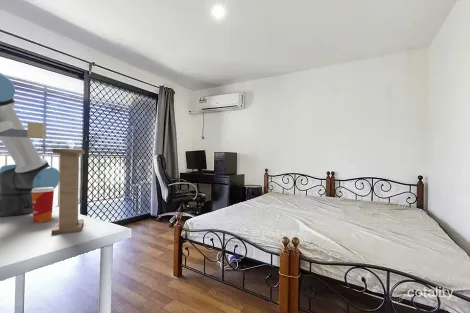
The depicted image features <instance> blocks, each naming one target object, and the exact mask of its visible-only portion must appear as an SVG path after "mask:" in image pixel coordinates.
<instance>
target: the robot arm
mask: <svg viewBox="0 0 470 313" xmlns="http://www.w3.org/2000/svg"><path fill="white" fill-rule="evenodd" d="M15 93H16V88H15V85H14V84H13V82H12V80H11V79H10V78H9V77H7V76H6V75H5V74H3V73H0V133H1V132H4V131H6V130H9V129H18V130H26V128H25V127H24V125H23V124H22V121H21V120H20V117H18V116H19V115H17V113H16V110H15V109H14V106H15V104H16V101H15V99H14V97H15ZM31 139H32V138H26V137H2V136H0V141H1V142H2V143H3V145H4V147H5V149H6V150H7V152H8V154H9V155H10V157H11V159H12V160H13V162H14V163H15V164H7V165H3V166H1V167H0V217H10V216H11V217H13V216H20V215H25V214H31V213H32V214H33V203H32V192H31V191H32V189H33V188H38V187H53V188H54V189H55V188H57V186H58V185H60V170H58V169H57V168H55V167H53V166H51V165H50V164H49V162H48V159H45V158H42V157H41V156H40V154H39V152H38V151H37V149H36V147H35V145H34V143H33V142H32V140H31Z"/></svg>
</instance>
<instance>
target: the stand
mask: <svg viewBox="0 0 470 313" xmlns="http://www.w3.org/2000/svg"><path fill="white" fill-rule="evenodd" d="M52 153H53V154H59V173H60V181H59V195H58V196H59V198H58V200H59V201H58V203H59V204H58V205H59V207H58V209H59V210H58V221H56V222H57V223H56V224H55V225H54V227H53V228H52V230H51V236H53V235H62V234H68V233H69V234H70V233H71V234H72V233H77V232H82V231H83V227H84V222H85V221H84V219H79V186H80V185H79V179H80V178H79V177H80V176H79V175H80V154H81V155H85V154H86V153H85V149H81V148H77V149H76V148H75V149H73V148H69V149H68V148H52Z"/></svg>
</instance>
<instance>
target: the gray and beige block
mask: <svg viewBox="0 0 470 313" xmlns="http://www.w3.org/2000/svg"><path fill="white" fill-rule="evenodd" d="M0 136H2V137H26V138H30V139H44V140H45V139H47V124H44V123H42V122H30V121H29V122H27V129H25V130H18V129H9V130H6V131H4V132H1V133H0Z"/></svg>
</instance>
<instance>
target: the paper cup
mask: <svg viewBox="0 0 470 313" xmlns="http://www.w3.org/2000/svg"><path fill="white" fill-rule="evenodd" d="M55 191H56V190H55V188H53V187H38V188H33V189H32V191H31V192H32V203H33V212H32V214H33V215H32V216H33V223H34V224H42V223H43V224H44V223H49V222H51V221H52V216H53V206H54V195H55V194H54V192H55Z"/></svg>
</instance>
